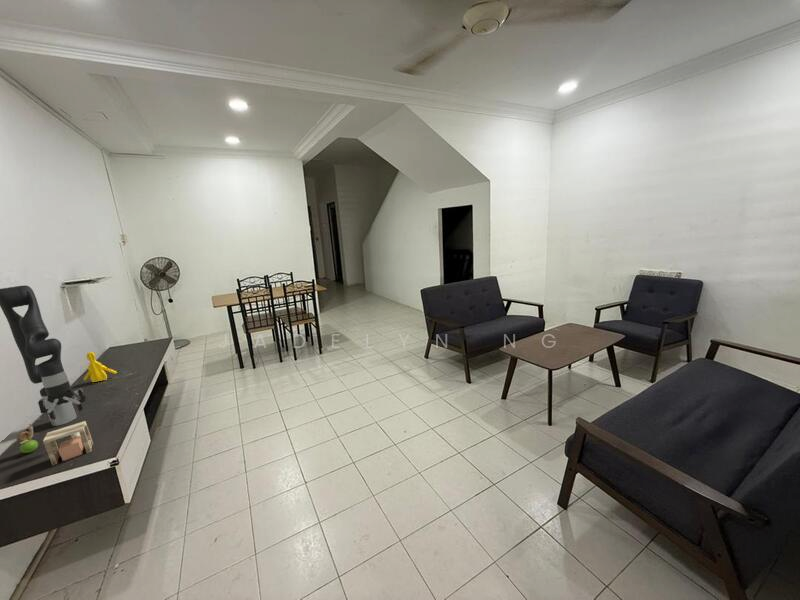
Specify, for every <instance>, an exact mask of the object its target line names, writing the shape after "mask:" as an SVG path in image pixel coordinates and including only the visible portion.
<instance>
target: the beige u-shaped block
mask: <svg viewBox="0 0 800 600" xmlns="http://www.w3.org/2000/svg"><path fill="white" fill-rule="evenodd" d="M78 432H79V433H80V436H81V439H82V443H83V445H84V450H85V452H86V454H89V453H91V452H92V450H93V449H92V447H93V445H94V442H93V437H92V435H91V432H90V430H89V427H88V424H87V421H86V420H83V421H81V422H76V423H74V424H70V425H68V426H65V427H61V428H58V429H55V430H51V431H48V432H47V433H46V434H45V436H44V438H43V440H42V442H43V443H42V444H43V445H44V448H45V450H46V452H47V456H48V458H49V460H50V464H51V465H52V466H55V465H57V464H58V462H59V458H60V457H61V455H60V452H59V450H58V449H59V447H58V444H57V441H56V440H59V439H62V438H65V437H69V436H71V435H72V434H75V433H78Z"/></svg>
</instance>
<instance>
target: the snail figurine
mask: <svg viewBox="0 0 800 600" xmlns="http://www.w3.org/2000/svg"><path fill="white" fill-rule="evenodd" d="M28 426H29V427H28V431H27V430H25V431H22V432H20V433H19V434H18V436H17V441H18V442H19V444H20V446H19V451H20V452H21V453H23V454H29V453H33V452H34V451H36V450H37V448H38V447H39V443H38V441H37V440H35V439H32V438H33V437H34V427H33V423H29V424H28Z"/></svg>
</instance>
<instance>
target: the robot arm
mask: <svg viewBox="0 0 800 600" xmlns="http://www.w3.org/2000/svg"><path fill="white" fill-rule="evenodd" d="M25 306H27V310H26V312H25V313H24V315H20V314H19V313H17V311H15V309H14V308H17V307H18V308H19V307H25ZM0 309H1V311H2V313H3V314H4V316H5V318H6V321H7V322H8V325H9V328H10V331H11V334H12V336H13V338H14V339H13V340H14V342H15V344H16V346H17V349H18V350H19V352H20V354H21V358H22V359H23V362H24V363H23V364H24V366H25V369H26V373H27V376H28V378H29V381H30V382H31V383H32V384H40V383H42V386H43V387H42V388H41V389H40V390H39V394H40V397H41V398H40V399H39V400H38V402H37V404H38V407H39V411H40V413H41V414H47V416H48V417H49V421H50V423H51V426H53V427H57V426H62V425H64V424H65V425H66V424H67V423H70V422H72V421H73V420H75V419H77V417H78V416H77V414H76V410H75V408H74V405H73V404H76V405H77V409H78V411H79V413H80V412H83V409H84V405H83V403H84V402H86V400H87V397H86V394H85V392H84V390H83V388H79V389H76V390H73V389H72V386H71V383H70V380H69V379H68V375H67V372H66V371H65V369H64V367H63V364H62V359H61V357H62V343H61V341H60V340H59V339H58V338H48V337H49V335H50V333H49V331H48V328H47V326H46V323H45V322H44V319H43V318H42V314H41V309H40V306H39V303H38V299H37V297H36V294H35V292H34V290H33V288H32V287H30V286H29V285H17V286H10V287H4V288H3V287H1V288H0ZM47 356H48V357H49V356H51V357H50V358H48V359H47V360H45V361H42V362H40V363H38V364H36V361H37V359H41V358H43V357H44V358H45V357H47ZM74 394H76V395H78V396H79V398H80V399H79V398H78V397H76V396H75V395H74Z"/></svg>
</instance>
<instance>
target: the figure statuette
mask: <svg viewBox="0 0 800 600" xmlns="http://www.w3.org/2000/svg"><path fill="white" fill-rule="evenodd" d="M96 357H97V355H96V354H95V353H94V351H88V352H87V353H86V359H87V360H88V361H89V362H90V363H89V365H88V366H87V369H88V372H87V373H86V374H85V375H84V378H83V381H86V380H87V379H89V377H90V381H91V382H92V383H93V382H97V381H102V380H106V381H107V380H108V379H107V378H108V375H107V372H109V373H111V374H114V375H116V374H117V373H118V371H116V370H114V369H112V368H108V367H107V366H105V365H103V364H102V363H101V362H99V361H98V360H96Z"/></svg>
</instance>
